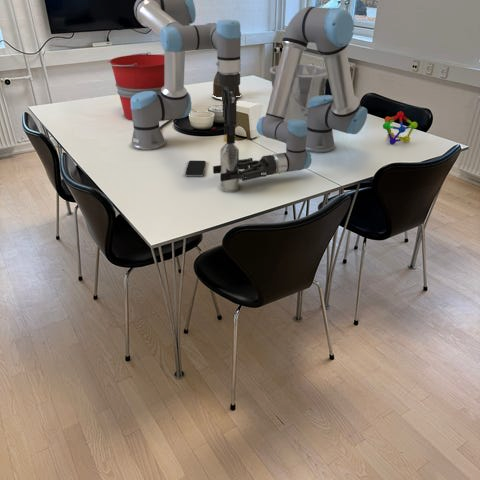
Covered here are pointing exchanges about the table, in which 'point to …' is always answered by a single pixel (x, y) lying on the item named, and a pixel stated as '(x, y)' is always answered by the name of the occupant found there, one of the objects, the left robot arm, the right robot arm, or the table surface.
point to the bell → (218, 89)
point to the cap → (225, 138)
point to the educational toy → (398, 128)
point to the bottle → (229, 166)
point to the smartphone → (195, 168)
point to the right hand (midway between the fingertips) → (217, 173)
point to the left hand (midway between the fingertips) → (229, 141)
